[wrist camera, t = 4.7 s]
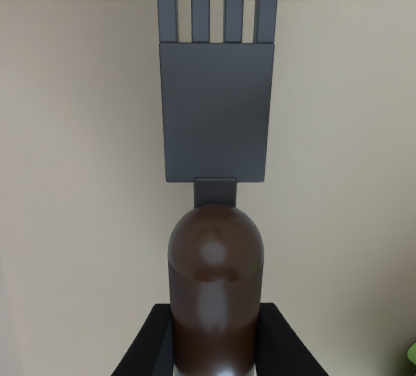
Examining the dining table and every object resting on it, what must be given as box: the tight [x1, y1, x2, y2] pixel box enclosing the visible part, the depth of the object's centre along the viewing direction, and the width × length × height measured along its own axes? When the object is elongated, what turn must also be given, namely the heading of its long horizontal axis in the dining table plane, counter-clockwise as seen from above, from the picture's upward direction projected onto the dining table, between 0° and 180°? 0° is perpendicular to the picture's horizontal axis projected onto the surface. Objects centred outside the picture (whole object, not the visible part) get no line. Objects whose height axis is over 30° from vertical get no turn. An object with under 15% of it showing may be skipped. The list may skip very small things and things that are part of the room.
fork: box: [157, 0, 277, 376], centre depth 7 cm, size 20×3×3 cm, turn 0°
